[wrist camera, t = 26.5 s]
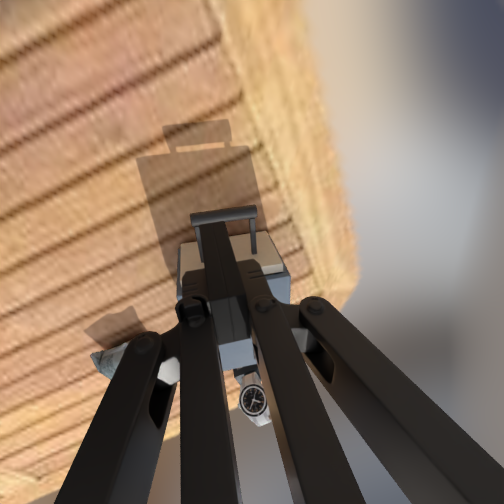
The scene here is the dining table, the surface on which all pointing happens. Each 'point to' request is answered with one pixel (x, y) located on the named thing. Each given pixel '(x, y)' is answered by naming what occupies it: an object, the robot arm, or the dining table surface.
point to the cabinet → (243, 350)
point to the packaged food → (108, 359)
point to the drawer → (232, 241)
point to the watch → (252, 394)
